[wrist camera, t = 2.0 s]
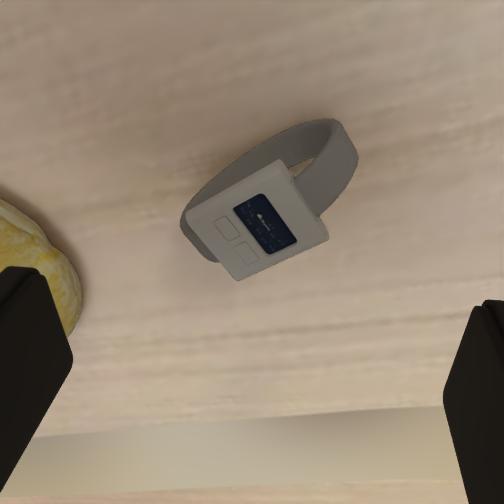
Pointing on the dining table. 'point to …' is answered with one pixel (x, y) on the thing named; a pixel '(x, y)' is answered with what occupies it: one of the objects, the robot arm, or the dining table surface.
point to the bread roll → (40, 261)
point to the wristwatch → (271, 199)
